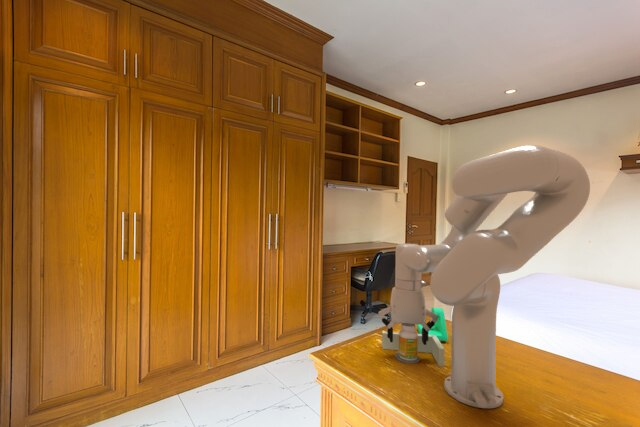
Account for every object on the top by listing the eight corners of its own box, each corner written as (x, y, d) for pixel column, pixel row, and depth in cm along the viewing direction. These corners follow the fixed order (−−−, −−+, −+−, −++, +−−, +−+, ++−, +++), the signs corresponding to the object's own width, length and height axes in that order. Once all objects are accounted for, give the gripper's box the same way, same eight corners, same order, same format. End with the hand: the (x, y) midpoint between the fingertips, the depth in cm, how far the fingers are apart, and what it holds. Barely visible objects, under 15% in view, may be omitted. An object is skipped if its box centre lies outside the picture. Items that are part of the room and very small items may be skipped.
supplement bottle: (406, 362, 86) (406, 328, 86) (395, 354, 91) (395, 322, 91) (421, 359, 88) (421, 326, 88) (409, 351, 93) (410, 320, 93)
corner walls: (444, 366, 84) (444, 349, 84) (384, 361, 86) (384, 344, 86) (435, 351, 94) (435, 335, 94) (381, 346, 97) (382, 331, 97)
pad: (421, 364, 85) (421, 363, 85) (396, 362, 86) (396, 361, 86) (416, 353, 92) (417, 352, 92) (393, 351, 93) (393, 350, 93)
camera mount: (416, 329, 113) (416, 302, 113) (437, 331, 112) (437, 303, 112) (424, 342, 101) (424, 312, 101) (447, 344, 100) (447, 313, 100)
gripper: (434, 283, 92) (434, 339, 92) (378, 280, 94) (377, 334, 94) (441, 289, 85) (440, 349, 84) (379, 285, 87) (378, 344, 87)
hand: (407, 341), depth 89 cm, fingers open, 9 cm apart
